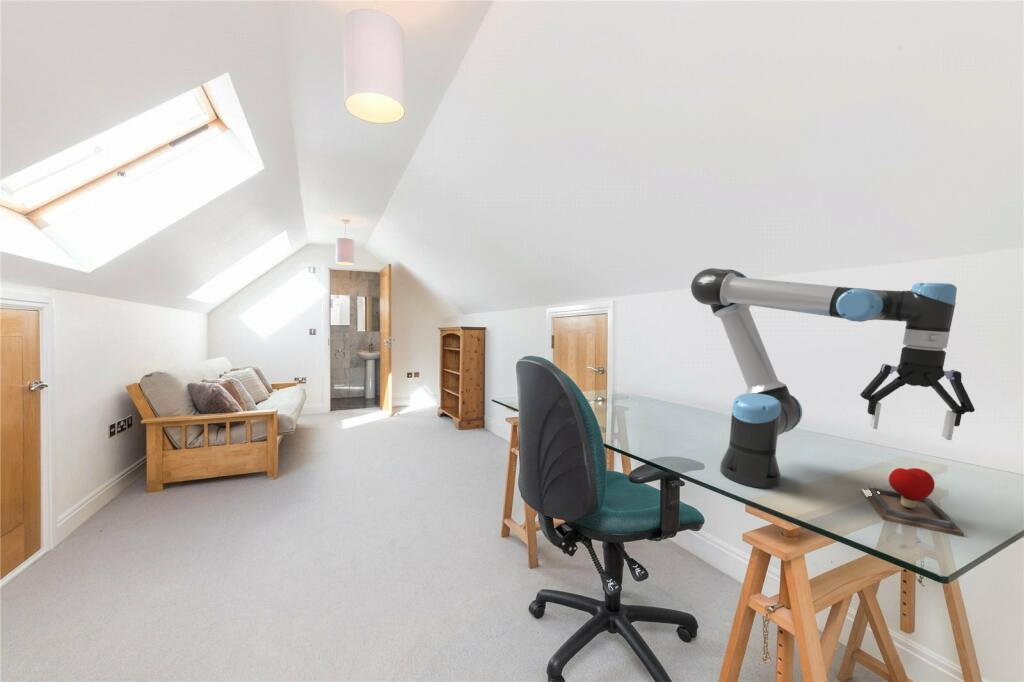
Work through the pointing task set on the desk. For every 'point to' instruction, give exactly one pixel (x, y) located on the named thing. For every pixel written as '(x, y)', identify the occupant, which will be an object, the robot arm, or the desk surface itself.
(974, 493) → the desk surface
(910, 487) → the red heart on stub
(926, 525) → the dark wooden picture frame
